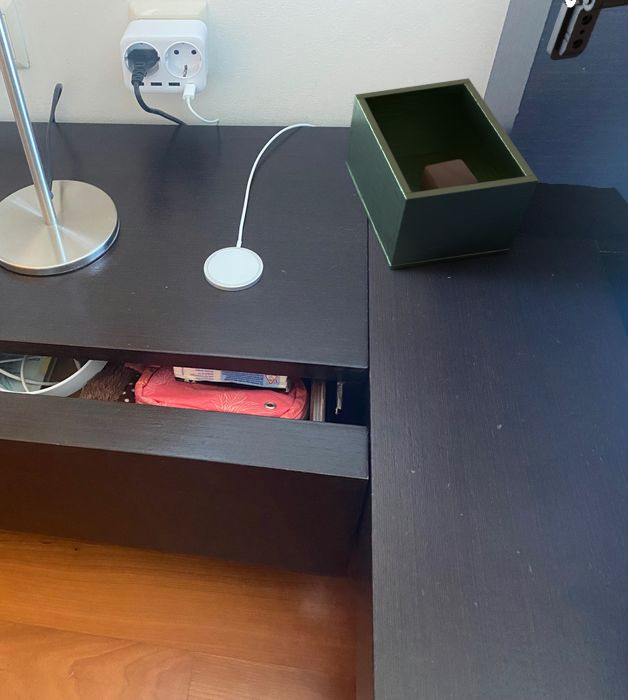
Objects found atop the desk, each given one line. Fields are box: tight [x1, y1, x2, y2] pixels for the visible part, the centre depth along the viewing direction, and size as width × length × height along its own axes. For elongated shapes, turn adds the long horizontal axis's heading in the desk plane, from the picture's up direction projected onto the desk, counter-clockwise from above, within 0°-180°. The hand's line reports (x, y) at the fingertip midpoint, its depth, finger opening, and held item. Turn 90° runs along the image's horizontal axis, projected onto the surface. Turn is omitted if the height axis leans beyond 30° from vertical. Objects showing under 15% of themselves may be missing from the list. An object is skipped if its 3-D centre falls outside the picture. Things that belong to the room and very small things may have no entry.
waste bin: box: [344, 78, 539, 271], centre depth 77 cm, size 18×13×10 cm
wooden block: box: [419, 159, 478, 192], centre depth 74 cm, size 4×4×8 cm
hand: (534, 24), depth 51 cm, fingers open, 8 cm apart
